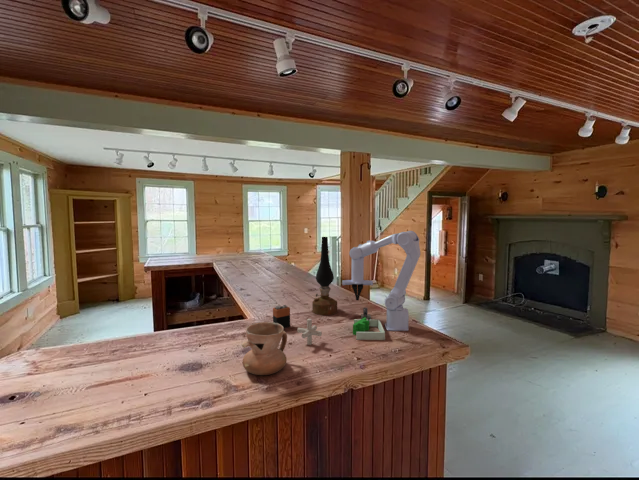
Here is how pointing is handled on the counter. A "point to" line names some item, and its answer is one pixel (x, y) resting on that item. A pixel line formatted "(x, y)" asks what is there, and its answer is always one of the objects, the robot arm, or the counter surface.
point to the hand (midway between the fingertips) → (357, 299)
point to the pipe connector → (309, 331)
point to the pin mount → (366, 316)
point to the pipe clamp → (361, 326)
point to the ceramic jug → (265, 348)
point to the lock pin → (365, 311)
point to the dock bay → (371, 335)
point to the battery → (282, 315)
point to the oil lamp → (324, 284)
